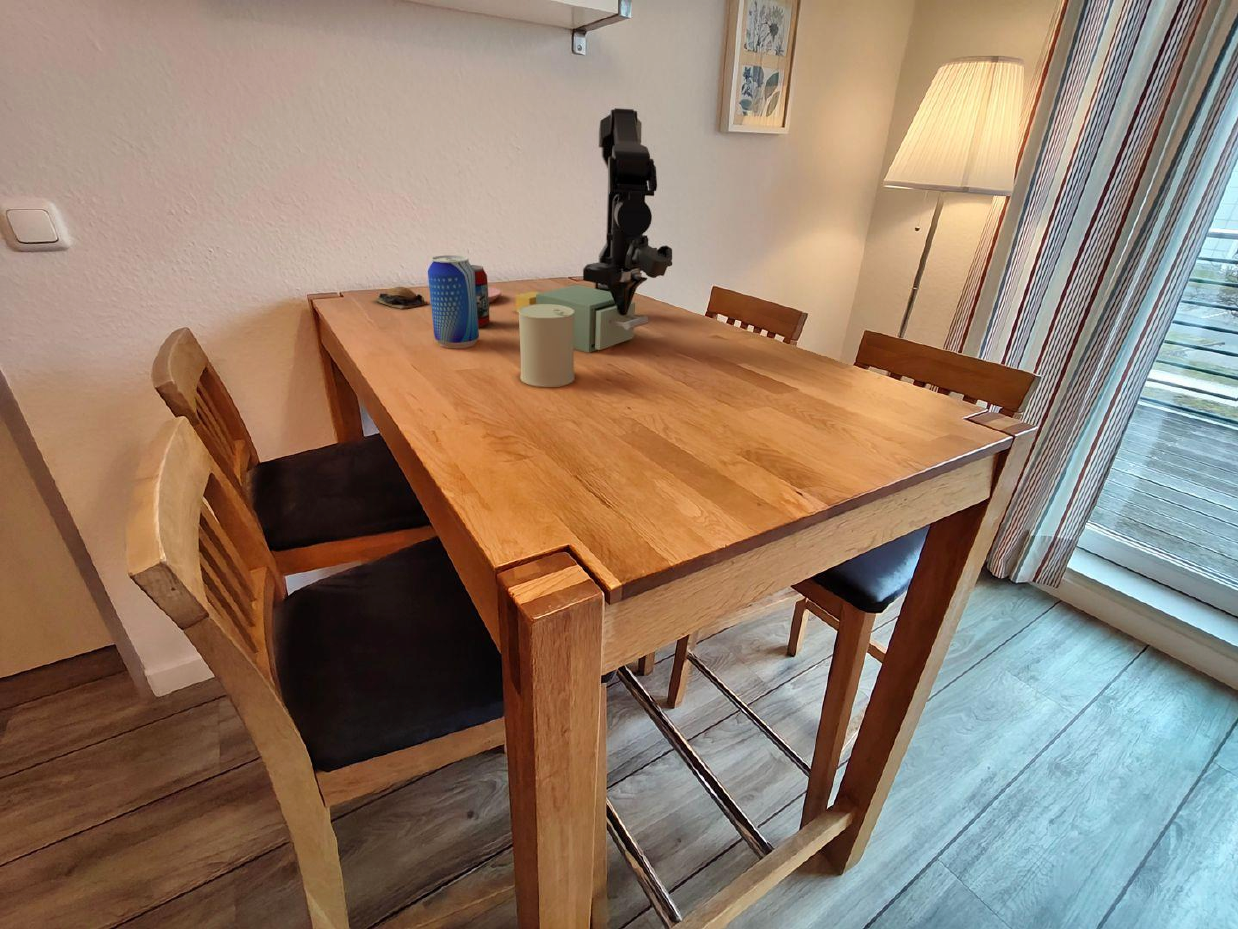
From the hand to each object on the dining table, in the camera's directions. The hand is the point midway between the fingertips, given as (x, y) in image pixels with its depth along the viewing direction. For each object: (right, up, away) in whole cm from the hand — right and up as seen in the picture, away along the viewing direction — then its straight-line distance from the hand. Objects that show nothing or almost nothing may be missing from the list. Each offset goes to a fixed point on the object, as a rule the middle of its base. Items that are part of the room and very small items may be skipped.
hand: (623, 314), depth 113 cm
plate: (-38, +12, +34) cm, 52 cm away
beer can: (-33, -5, +2) cm, 33 cm away
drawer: (-4, -4, +5) cm, 8 cm away
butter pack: (-22, +7, +26) cm, 35 cm away
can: (-13, -14, -13) cm, 23 cm away
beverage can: (-32, +1, +14) cm, 35 cm away
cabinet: (-9, -3, +8) cm, 12 cm away
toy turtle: (-53, +10, +28) cm, 61 cm away
